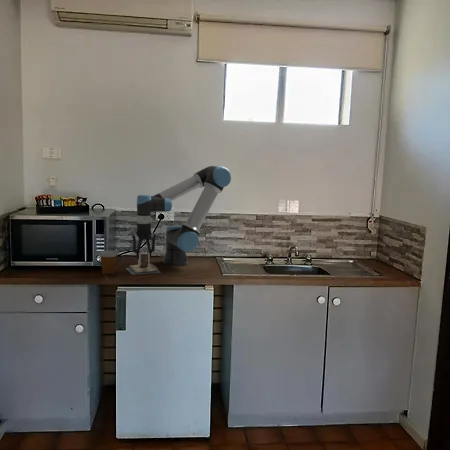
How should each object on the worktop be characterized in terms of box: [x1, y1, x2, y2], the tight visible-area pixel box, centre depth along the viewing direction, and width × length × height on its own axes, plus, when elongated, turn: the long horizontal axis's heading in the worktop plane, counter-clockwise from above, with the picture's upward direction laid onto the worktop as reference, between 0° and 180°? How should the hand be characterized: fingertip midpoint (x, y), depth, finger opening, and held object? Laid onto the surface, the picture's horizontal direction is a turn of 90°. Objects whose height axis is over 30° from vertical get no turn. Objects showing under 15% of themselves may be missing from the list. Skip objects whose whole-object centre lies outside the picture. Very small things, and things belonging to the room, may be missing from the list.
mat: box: [125, 267, 162, 275], centre depth 262 cm, size 16×15×1 cm
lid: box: [128, 253, 159, 272], centre depth 261 cm, size 13×13×8 cm
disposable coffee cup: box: [99, 249, 118, 275], centre depth 254 cm, size 10×10×12 cm
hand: (143, 264), depth 261 cm, fingers closed on lid, 4 cm apart
